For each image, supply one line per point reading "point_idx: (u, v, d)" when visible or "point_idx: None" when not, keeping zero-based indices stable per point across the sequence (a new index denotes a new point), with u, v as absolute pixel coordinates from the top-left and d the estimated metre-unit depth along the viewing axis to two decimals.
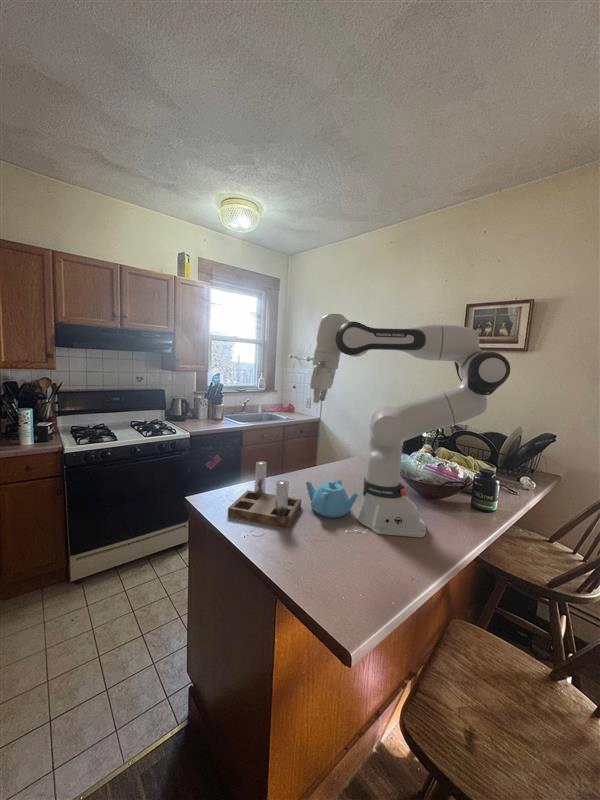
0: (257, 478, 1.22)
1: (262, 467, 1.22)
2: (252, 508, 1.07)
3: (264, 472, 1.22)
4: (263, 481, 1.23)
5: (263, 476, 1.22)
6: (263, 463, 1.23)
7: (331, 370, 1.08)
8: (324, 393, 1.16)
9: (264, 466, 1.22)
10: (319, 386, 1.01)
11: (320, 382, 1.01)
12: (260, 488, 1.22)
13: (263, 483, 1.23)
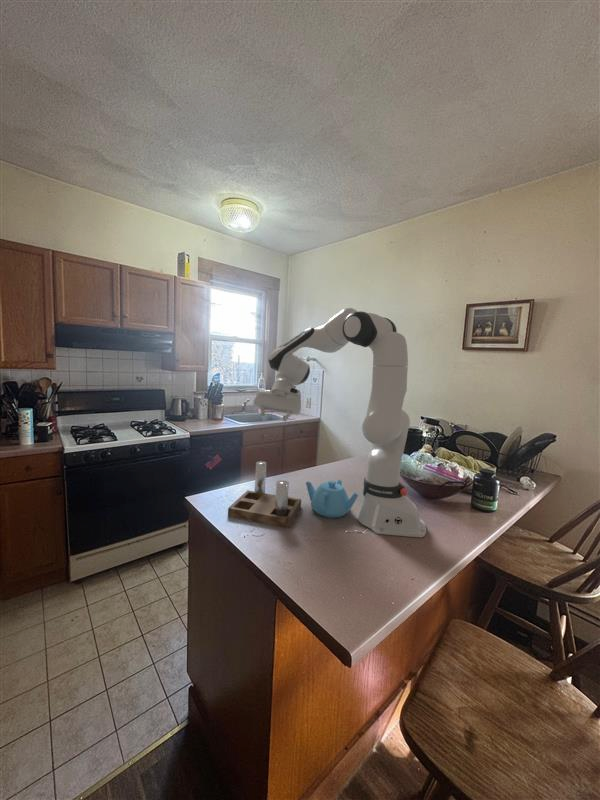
0: (257, 478, 1.22)
1: (262, 467, 1.22)
2: (252, 508, 1.07)
3: (264, 472, 1.22)
4: (263, 481, 1.23)
5: (263, 476, 1.22)
6: (263, 463, 1.23)
7: (275, 392, 1.36)
8: None
9: (264, 466, 1.22)
10: None
11: (254, 399, 1.36)
12: (260, 488, 1.22)
13: (263, 483, 1.23)
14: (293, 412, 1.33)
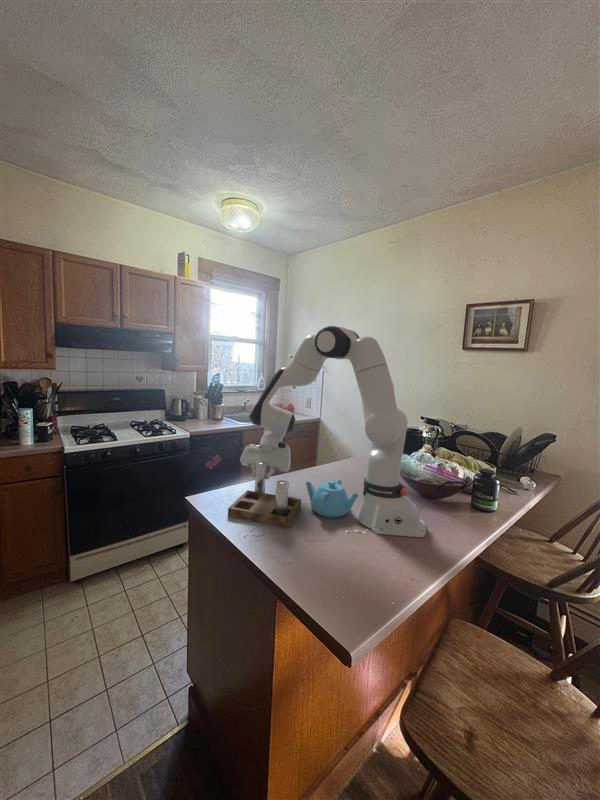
0: (257, 478, 1.22)
1: (262, 467, 1.22)
2: (252, 508, 1.07)
3: (264, 472, 1.22)
4: (263, 481, 1.23)
5: (263, 476, 1.22)
6: (263, 463, 1.23)
7: (263, 448, 1.28)
8: None
9: (264, 466, 1.22)
10: (240, 459, 1.28)
11: (241, 456, 1.29)
12: (260, 488, 1.22)
13: (263, 483, 1.23)
14: (281, 469, 1.24)
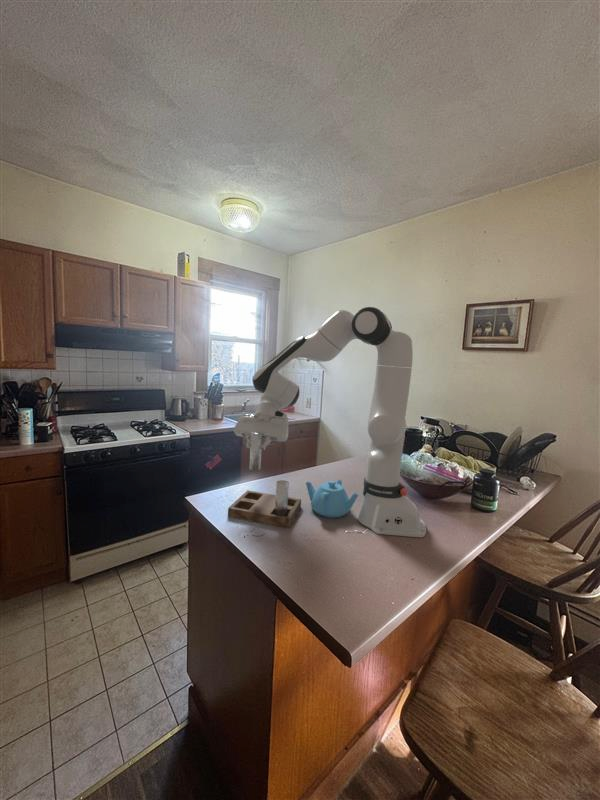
0: (252, 449, 1.13)
1: (258, 437, 1.12)
2: (252, 508, 1.07)
3: (260, 443, 1.13)
4: (259, 452, 1.13)
5: (258, 447, 1.13)
6: (258, 433, 1.14)
7: (258, 417, 1.19)
8: None
9: (260, 436, 1.13)
10: (234, 429, 1.19)
11: None
12: (255, 460, 1.13)
13: (259, 455, 1.13)
14: (278, 439, 1.15)
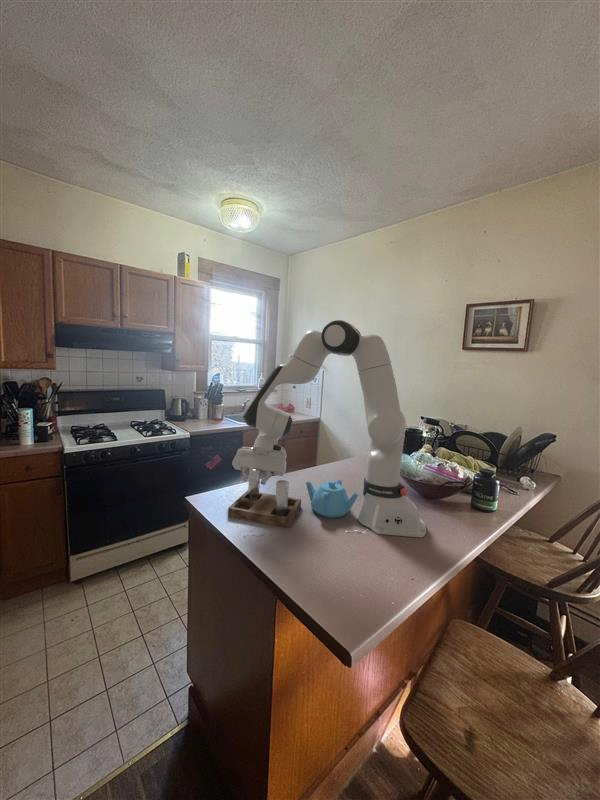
0: (250, 486, 1.14)
1: (256, 474, 1.14)
2: (252, 508, 1.07)
3: (258, 479, 1.15)
4: (257, 489, 1.15)
5: (257, 483, 1.14)
6: (257, 470, 1.15)
7: (257, 450, 1.20)
8: None
9: (258, 473, 1.14)
10: None
11: None
12: (253, 496, 1.15)
13: (257, 491, 1.15)
14: (276, 473, 1.16)
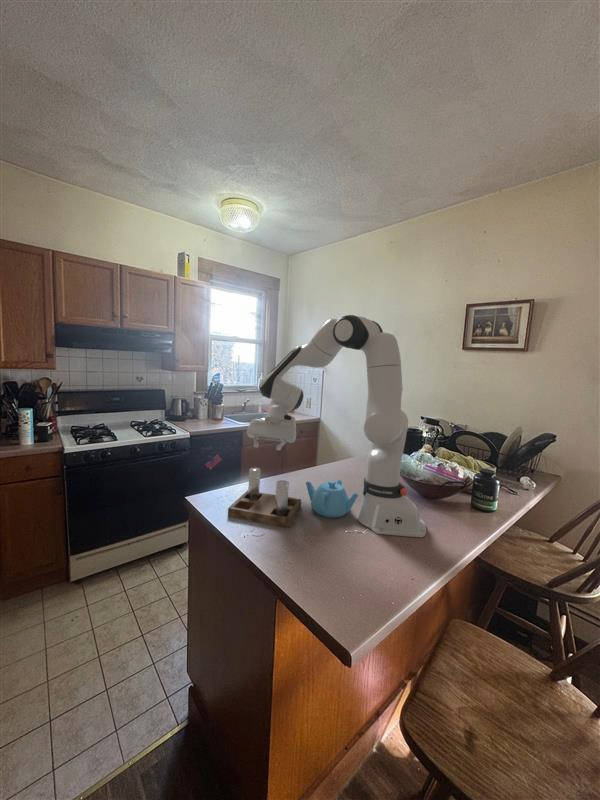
0: (250, 486, 1.14)
1: (256, 474, 1.14)
2: (252, 508, 1.07)
3: (258, 479, 1.15)
4: (257, 489, 1.15)
5: (257, 483, 1.14)
6: (257, 470, 1.15)
7: (269, 420, 1.31)
8: None
9: (258, 473, 1.14)
10: None
11: None
12: (253, 496, 1.15)
13: (257, 491, 1.15)
14: (287, 440, 1.27)
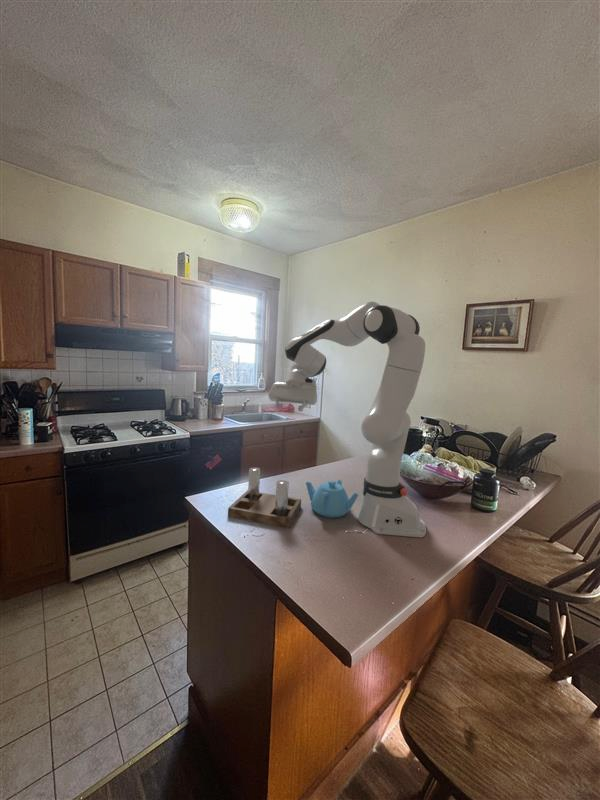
0: (250, 486, 1.14)
1: (256, 474, 1.14)
2: (252, 508, 1.07)
3: (258, 479, 1.15)
4: (257, 489, 1.15)
5: (257, 483, 1.14)
6: (257, 470, 1.15)
7: (290, 383, 1.34)
8: None
9: (258, 473, 1.14)
10: (268, 394, 1.33)
11: None
12: (253, 496, 1.15)
13: (257, 491, 1.15)
14: (309, 402, 1.30)
